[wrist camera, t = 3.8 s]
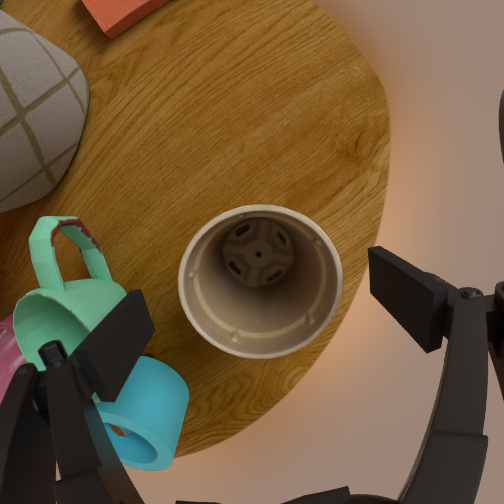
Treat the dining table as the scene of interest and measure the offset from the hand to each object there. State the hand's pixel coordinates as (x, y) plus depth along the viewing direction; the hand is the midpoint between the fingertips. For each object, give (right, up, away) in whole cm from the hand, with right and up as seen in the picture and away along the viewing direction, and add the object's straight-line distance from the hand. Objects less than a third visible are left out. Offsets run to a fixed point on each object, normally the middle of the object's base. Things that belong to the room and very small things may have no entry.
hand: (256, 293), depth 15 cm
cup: (-13, -14, +13) cm, 23 cm away
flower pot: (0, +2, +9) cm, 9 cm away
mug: (-14, 0, +10) cm, 17 cm away
